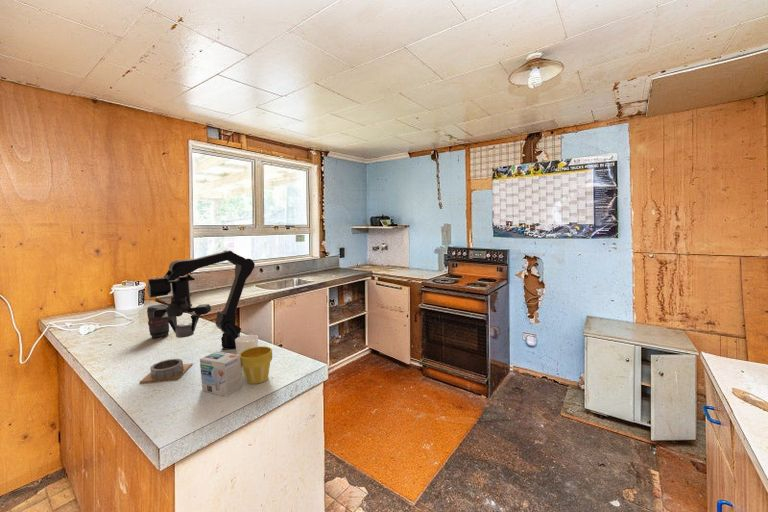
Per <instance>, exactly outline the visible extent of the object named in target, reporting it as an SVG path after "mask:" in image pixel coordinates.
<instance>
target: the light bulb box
mask: <svg viewBox="0 0 768 512" xmlns="http://www.w3.org/2000/svg"><path fill="white" fill-rule="evenodd" d="M199 365H200V366H199V367H200V376H201V377H200V378H201V381H200V382H201V390H202V391H203V392H207V393H211V394H216V395H220V396H222V397H227V396H229V395H231V394H232V392H233V393H234V392H237V390H239V389H240V388H242V387H243V377H242V375H243V374H242V367H241V361H240V355H237V353H236V354H234V353H228V352H222V351H217V350H216V351H214V352H211V353H210V354H208V355H205V356H203V357H200V359H199Z"/></svg>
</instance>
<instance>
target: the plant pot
mask: <svg viewBox="0 0 768 512" xmlns="http://www.w3.org/2000/svg"><path fill="white" fill-rule="evenodd" d="M239 355H240V361H241V366H242V367H241V368H242V370H243V372H244V376H245V378H246V382H247V383H248V384H250V385H255V384H256V385H257V384H260V383H261V384H262V383H263V382H266V381H267V380H268V379H269V375H270V366H271V362H272V360H273V349H272V348H271V347H269V346H258V347H253V348H249V349H246V350H244V351H242V352H241V353H240V354H239Z"/></svg>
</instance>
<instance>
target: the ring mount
mask: <svg viewBox="0 0 768 512" xmlns="http://www.w3.org/2000/svg"><path fill="white" fill-rule="evenodd" d="M183 362H184V361H183V359H181V358H170V359H165V360H160V361H158V362H155V363H154V364H153V365H151V366H150V368H149V369H150V372H149V373H148V374H147V375H146V376H144V378H142V379H141V380H140V381H139V384H148V382H150V383H159V381H160V382H169V381H168V380H170V381H176V380H178V379H179V380H180V379H181V378H182V377H183V376H184V375H185V373H187V371H188V370H190V368H191V367H192V366H193V363H192V362H191V363H190V362H189V363H183ZM181 376H182V377H181Z"/></svg>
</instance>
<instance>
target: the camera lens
mask: <svg viewBox="0 0 768 512" xmlns="http://www.w3.org/2000/svg"><path fill="white" fill-rule="evenodd" d="M160 307H168V305H167V304H164V303H163V304H153V305H149V306H147V309H146V313H147V319H148V321H147V324H148V331H149V336H151V339H153V340H158V339H163V338H166V337H168V336H169V332H170V324H169V322H168V321H167V320H165V319H162V317H156V318H154V317H153V312H154V310H156V309H158V308H160Z"/></svg>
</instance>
